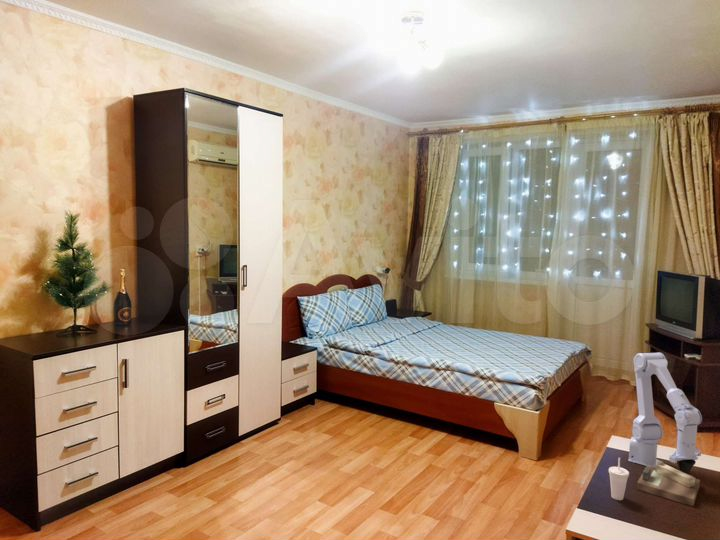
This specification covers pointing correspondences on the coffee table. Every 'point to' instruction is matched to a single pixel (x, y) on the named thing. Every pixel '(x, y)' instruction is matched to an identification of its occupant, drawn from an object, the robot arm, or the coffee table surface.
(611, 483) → the smoothie
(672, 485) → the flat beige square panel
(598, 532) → the coffee table surface
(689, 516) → the coffee table surface
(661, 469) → the hinged leg
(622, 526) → the coffee table surface
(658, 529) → the coffee table surface
